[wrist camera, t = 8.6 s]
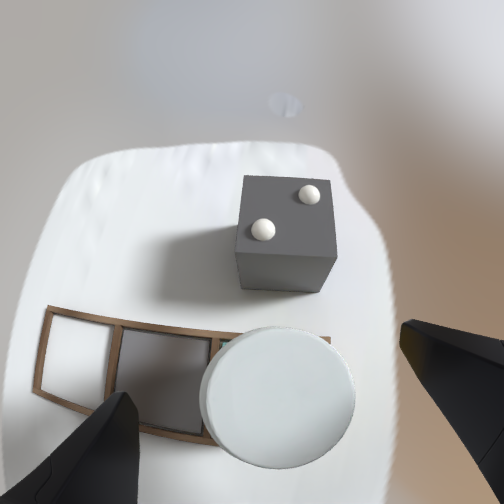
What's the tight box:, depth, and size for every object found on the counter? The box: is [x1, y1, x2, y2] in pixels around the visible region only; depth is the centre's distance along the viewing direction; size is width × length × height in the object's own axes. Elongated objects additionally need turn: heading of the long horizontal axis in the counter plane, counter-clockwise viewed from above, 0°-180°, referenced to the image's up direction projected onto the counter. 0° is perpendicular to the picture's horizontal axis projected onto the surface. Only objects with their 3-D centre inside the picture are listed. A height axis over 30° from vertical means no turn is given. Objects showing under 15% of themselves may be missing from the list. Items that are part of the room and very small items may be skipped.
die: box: [235, 175, 337, 292], centre depth 17 cm, size 5×5×6 cm
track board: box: [33, 305, 331, 446], centre depth 15 cm, size 20×7×1 cm, turn 86°
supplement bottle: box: [199, 327, 355, 469], centre depth 11 cm, size 5×5×10 cm
